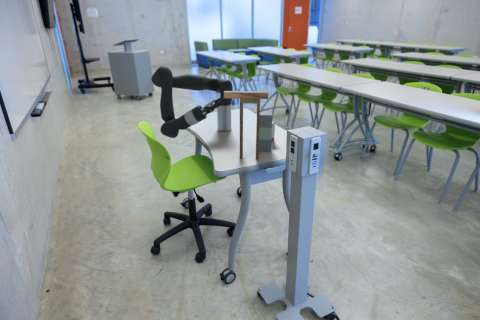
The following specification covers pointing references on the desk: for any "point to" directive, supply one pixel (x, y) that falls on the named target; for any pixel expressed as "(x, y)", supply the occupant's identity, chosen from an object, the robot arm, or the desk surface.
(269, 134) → the block tower
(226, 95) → the terracotta bar
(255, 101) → the walnut stand
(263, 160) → the desk surface
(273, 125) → the ink box
